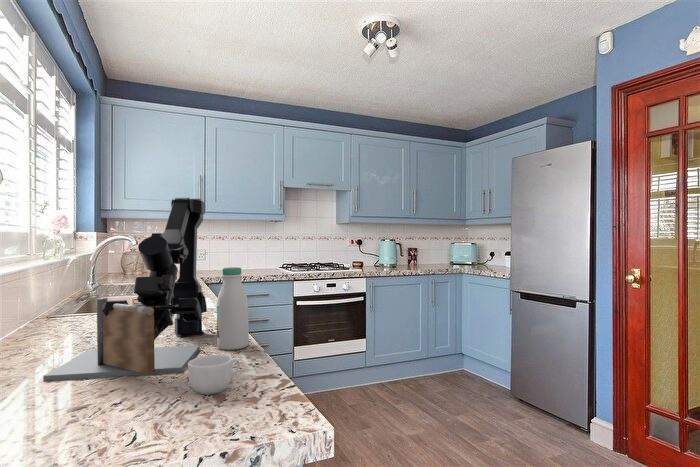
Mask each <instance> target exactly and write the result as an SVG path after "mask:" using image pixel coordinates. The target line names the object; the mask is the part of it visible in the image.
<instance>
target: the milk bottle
mask: <svg viewBox="0 0 700 467" xmlns="http://www.w3.org/2000/svg"><path fill="white" fill-rule="evenodd" d="M241 276H242V268H241V267H233V266H232V267H224V268H222V278H223V282H222V285H221V288H220V290H219V292H218V295H217V299H216V345H217V348H218V349H220V350H224V351H234V350H240V349H244V348H246V347H248V346H249V342H250V341H249V338H250V335H249V333H250V332H249V331H250V330H249V327H250V326H249V301H248V296H247V292H246V290H245V288H244V286H243V284H242V279H241Z"/></svg>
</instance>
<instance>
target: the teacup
mask: <svg viewBox="0 0 700 467" xmlns="http://www.w3.org/2000/svg"><path fill="white" fill-rule="evenodd" d="M235 362H236V363H237V366H236V369H234V370H233V367H234V363H235ZM240 368H241V362H240V360H239V359H237V358H234V357H233V356H232V355H228V354H223V353H221V354H217V353H216V354H208V355H202V356H198V357H195V358H193V359H192V360H190V361H189V362H188V365H187V370H188V371H187V372H188V382H189V384H190V386H191V388H192V389H193V390H194V391H195V393H198V394H201V395H205V396H207V395H214V394H218V393H221V392H223V391H224V390H225V389H227V387H228V386H229V385H230V383H231V381H232V377H233V376H234V375H236V373H237V372H238V371H240Z"/></svg>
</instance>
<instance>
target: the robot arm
mask: <svg viewBox="0 0 700 467" xmlns="http://www.w3.org/2000/svg"><path fill="white" fill-rule="evenodd" d="M170 204H171V206H170V207H171V209H170V213H169V215H168V217H167V218H168V219H167V220H166V225H165V228H164V231H163V232H162V233H161V232H155V233H151V236H149V237H146V238H145V239H143V240H142V241H141V242H140V243H139V244H138V247H137V248H138V251H139V255H140V256H141V259H142V261H143V264H144V266H145V269H146V270H148V271H150V272H149V275H148V276H136V277H135V282H134V289H133V293H134V294H136V295H137V302H138V303H133V305H135V306H144V307H152V308H153V309H154V341H155V340H156V339H157V338H158V337H159V336H160V335H161V333H162V332H164V331H165V330H166V329H168V327H170V326H173V325H174V334H175V335H177V336H179V337H180V338H183V337H185V338H186V337H190V336H198V335H203V334H205V331H203V313H207V312H208V309H207V300H206V296H205V294H204V292H203V291H202V290H203V289H202V288H203V287H202V285H201V283H200V282H199V280H198V279H197V255H198V254H197V252H198V251H197V250H198V249H197V247H198V229H199V227H200V226H201V224H202V223H203V221H204V215H205V214H206V203H205V202H204V201H203V200H202V199H201V198H190V197H174V198H172V199H171V202H170ZM177 265H179V267H177ZM178 268H179V269H178ZM178 271H179V277H178ZM114 304H127V305H130V304H129V302H128V300H127V299H118V300H112V299H111V300H108V301H107V302H106V303H105V304H104V307H103V310H102V311H103V313H104V314H105V316H107V315H108V311H109V310H114V308H113V305H114ZM175 315H176V317H175ZM174 317H175V318H174Z"/></svg>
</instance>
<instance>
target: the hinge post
mask: <svg viewBox="0 0 700 467" xmlns="http://www.w3.org/2000/svg"><path fill="white" fill-rule="evenodd" d="M107 301H109V300H108V297H99V298H97V299H96V337H97V338H96V340H97V341H96V344H97V346H96V347H97V350H96V351H97V359H98V365H106V364H103V311H102V310H103V307H102V306H103V304H104V303H106V302H107Z"/></svg>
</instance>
